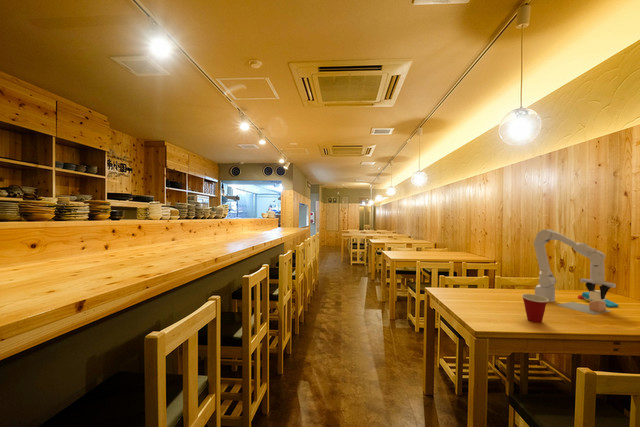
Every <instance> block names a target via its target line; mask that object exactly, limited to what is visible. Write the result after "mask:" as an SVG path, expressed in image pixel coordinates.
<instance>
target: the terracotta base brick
mask: <svg viewBox="0 0 640 427" xmlns="http://www.w3.org/2000/svg"><path fill="white" fill-rule="evenodd" d="M588 302H589V303H588V304H589V310H594V311H598V312H600V311H604V310H607V307H606V302H604V301H595V300H594V301H591V300H588Z"/></svg>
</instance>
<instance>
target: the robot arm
mask: <svg viewBox="0 0 640 427" xmlns="http://www.w3.org/2000/svg"><path fill="white" fill-rule="evenodd" d="M555 240H556V241H559V242H561V243H564V244H566V245H567V246H569V247H572V248H573V250H574V252H577V253H578V254H580V255H581V256H584V257H586V258H588V259H589V261H590V262H589V263H590V264H589V270H590V273H589V277H590V278H580V279H579V280H580V281H579V282H580V283H585V284H584V285H585V288H587V290H588V292H589V291H593V290H596V288H595V287H596V286H599V291H600V292H601V299H605V295H606V296H607V293H608V291H610V289H611V288H614V289H615V288H616V286H617V284H616V283H613V282H608V281H605V275H606V274H605V273H606V272H605V269H606V268H605V267H606V266H605V260H606V254H605V253H604V252H603V251H601V250H597V248H593V247H591V246H589V245H588V243H585V242H576V241H574V240H573V239H571V238H569V237H567V236H566V235H564V234H562V233H560V232H558V231H555V230H554V229H551V228H547V229H541V230H539V231H538V232H537V233H536V236H535V238H534V241H533V246H534V249H535V250H534V251H535V255H536V260H537V263H538V264H537V265H538V269H539V274H538V277H539V278H538V284H537V285H536V286H535V288H534V295H539V296H542V297H545V298H547V299H548V300H549V301H548V302H551V303H554V302H556V286H555V285H556V283H557V279H556V278H555V276H554V274H553V272H552V270H551V267H550V264H549V259H548V254H547V250H546V247H545V246H546V244H547V243H548V242H549V241H555ZM548 302H547V303H548Z"/></svg>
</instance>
